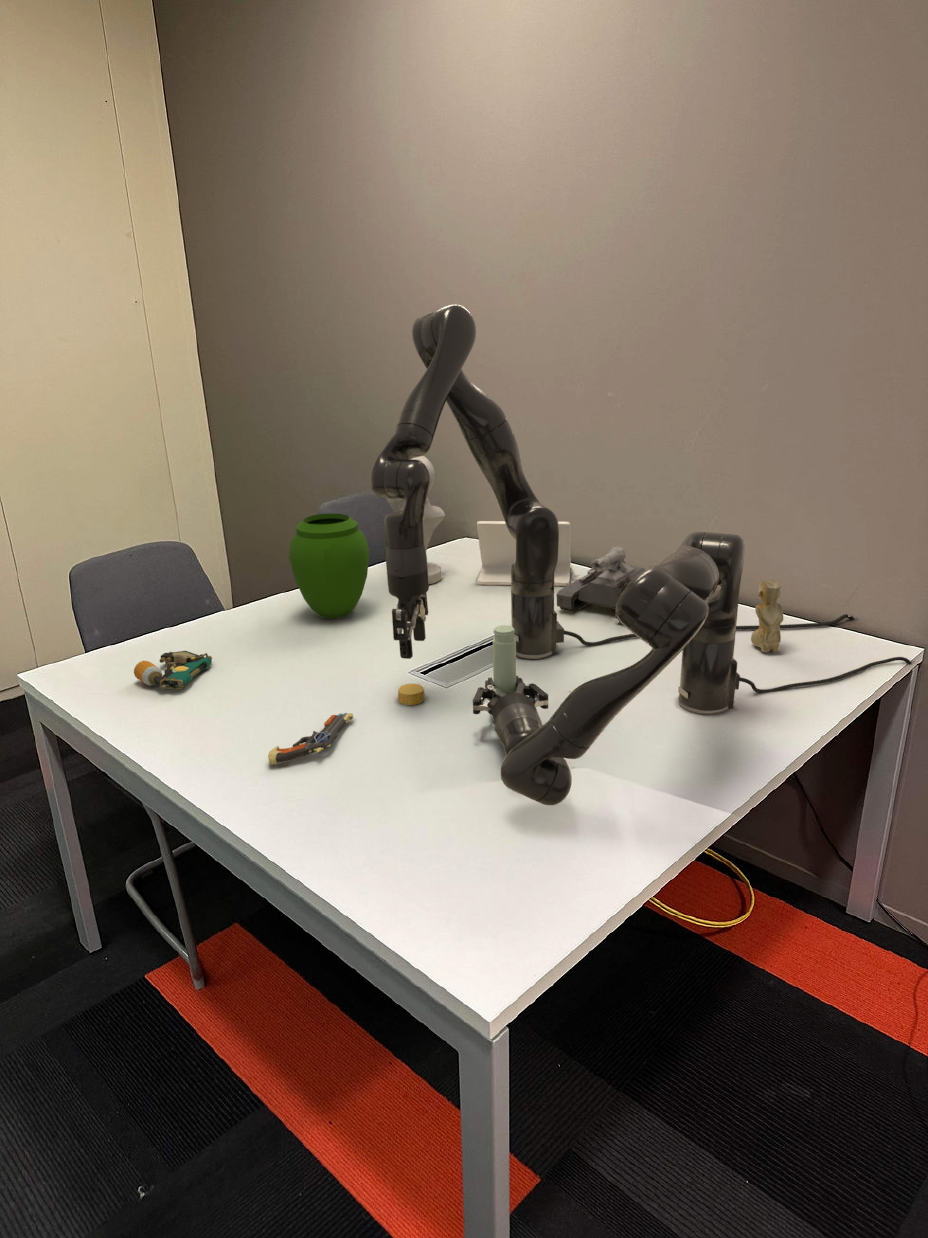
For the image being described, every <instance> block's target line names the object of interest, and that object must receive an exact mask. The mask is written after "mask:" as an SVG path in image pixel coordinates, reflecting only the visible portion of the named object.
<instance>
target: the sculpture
mask: <svg viewBox="0 0 928 1238" xmlns="http://www.w3.org/2000/svg"><path fill="white" fill-rule="evenodd" d="M757 582H758V584H759V585H758V586H759V587H758V591H757V592H758V593H757V597H758V598H759V600H760V604H757V605H755V607H754V608H755V609H754V610H755V611H754V612H755V614H756V616H757V618H758V625H759V628H758V629H754V631H753V632H752V633H751V636H750V641H751V643H752V645H753V646H754V647H757V648H760V651H761V653H769V652H770V651H771V652H778V651H779V650H780V643H781V641H782V637H781V636H782V634H781V629H780V625H782V623H783V622H784V609H783V606H782V605H781V603H778V599H779V598H780V597H781V595H782V591H781V589H782V585H781V583H779V582H778V581H776V580H774V579H771V580H770V579H769V580H758V581H757Z"/></svg>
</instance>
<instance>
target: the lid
mask: <svg viewBox="0 0 928 1238" xmlns="http://www.w3.org/2000/svg"><path fill="white" fill-rule="evenodd" d="M397 698H398V699H397V700H398V702H399V703H400V704H402V705H405V706H416V705H419V704H422V703H423V702H424V701H425V699H426V697H425V688H424V686H423V685H421V684H419V683H405V684H402V685H401V686H399V687H398V689H397Z"/></svg>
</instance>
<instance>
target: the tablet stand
mask: <svg viewBox="0 0 928 1238" xmlns="http://www.w3.org/2000/svg"><path fill="white" fill-rule="evenodd" d="M558 525H559V546H558V562H557V566H556V568H555V572H554V587H556V586H557V587H566V586H567V585H569V584H570V580H571V579H570V578H571V565H572V564H571V560H572V558H571V522H569V521H558ZM476 531H477V537H478V544H479V551H480V557H481V558H480V559H481V570H480V573H479V575H478V577H477V580H476V581H477V582H476V584H478V585H484V586H485V585H486V586H487V585H489V586H490V585H491V586H511V566H512V564H513V563H514V562H515V561H516V539H514V538H513V537H512V536H511V534H510V532H509V531H508V528H507V526H506V523H505V520H477V522H476Z"/></svg>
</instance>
